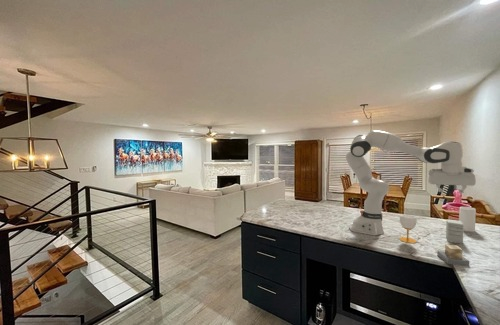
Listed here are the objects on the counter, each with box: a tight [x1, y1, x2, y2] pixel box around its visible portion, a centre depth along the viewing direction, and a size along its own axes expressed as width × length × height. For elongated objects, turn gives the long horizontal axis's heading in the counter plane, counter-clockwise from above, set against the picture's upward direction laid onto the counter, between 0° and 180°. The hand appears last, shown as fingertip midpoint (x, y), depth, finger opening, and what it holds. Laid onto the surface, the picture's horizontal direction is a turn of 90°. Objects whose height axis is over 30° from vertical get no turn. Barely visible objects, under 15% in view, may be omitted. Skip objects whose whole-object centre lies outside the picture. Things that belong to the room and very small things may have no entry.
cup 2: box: [458, 206, 477, 232], centre depth 152 cm, size 8×8×16 cm
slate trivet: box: [437, 250, 470, 266], centre depth 112 cm, size 9×9×3 cm
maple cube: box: [444, 244, 463, 259], centre depth 111 cm, size 5×5×5 cm
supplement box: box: [445, 218, 464, 245], centre depth 135 cm, size 7×7×13 cm
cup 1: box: [398, 214, 418, 244], centre depth 137 cm, size 9×9×16 cm
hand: (450, 192), depth 123 cm, fingers open, 8 cm apart
